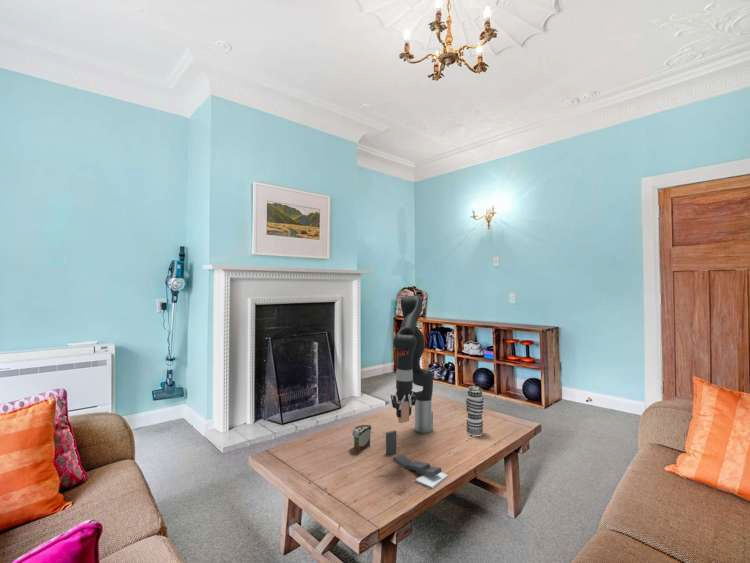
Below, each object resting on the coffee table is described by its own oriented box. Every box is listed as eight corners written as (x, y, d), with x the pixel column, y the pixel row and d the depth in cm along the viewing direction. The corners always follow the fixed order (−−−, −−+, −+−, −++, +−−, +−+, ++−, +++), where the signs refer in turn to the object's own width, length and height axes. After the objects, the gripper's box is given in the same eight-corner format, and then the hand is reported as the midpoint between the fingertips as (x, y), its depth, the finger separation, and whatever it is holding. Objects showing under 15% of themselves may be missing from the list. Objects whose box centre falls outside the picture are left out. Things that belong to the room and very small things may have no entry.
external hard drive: (414, 483, 150) (430, 471, 159) (432, 491, 144) (447, 478, 154) (414, 479, 150) (430, 468, 159) (432, 486, 145) (447, 474, 154)
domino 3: (401, 454, 172) (415, 463, 163) (401, 457, 172) (415, 467, 163) (392, 457, 169) (405, 466, 160) (392, 460, 169) (405, 470, 160)
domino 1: (394, 451, 177) (394, 430, 178) (396, 452, 176) (396, 431, 176) (385, 453, 175) (386, 432, 175) (387, 455, 173) (388, 433, 173)
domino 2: (407, 420, 170) (407, 398, 170) (409, 421, 169) (409, 399, 169) (398, 422, 167) (398, 399, 167) (400, 423, 166) (400, 400, 166)
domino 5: (423, 465, 160) (440, 467, 152) (424, 469, 159) (441, 471, 152) (415, 469, 157) (432, 472, 149) (416, 473, 156) (433, 476, 149)
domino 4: (415, 460, 164) (429, 463, 155) (416, 464, 163) (430, 467, 155) (406, 464, 161) (420, 467, 153) (407, 468, 160) (421, 471, 152)
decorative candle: (485, 437, 194) (485, 389, 194) (468, 437, 194) (468, 389, 194) (481, 430, 203) (481, 384, 203) (464, 430, 203) (464, 384, 203)
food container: (361, 442, 187) (361, 422, 187) (371, 445, 184) (371, 425, 184) (347, 451, 176) (347, 430, 177) (357, 454, 173) (357, 433, 173)
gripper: (411, 375, 175) (410, 411, 175) (386, 378, 168) (386, 416, 167) (421, 378, 169) (421, 416, 169) (396, 382, 161) (396, 421, 161)
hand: (403, 416), depth 168 cm, fingers closed on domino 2, 5 cm apart
